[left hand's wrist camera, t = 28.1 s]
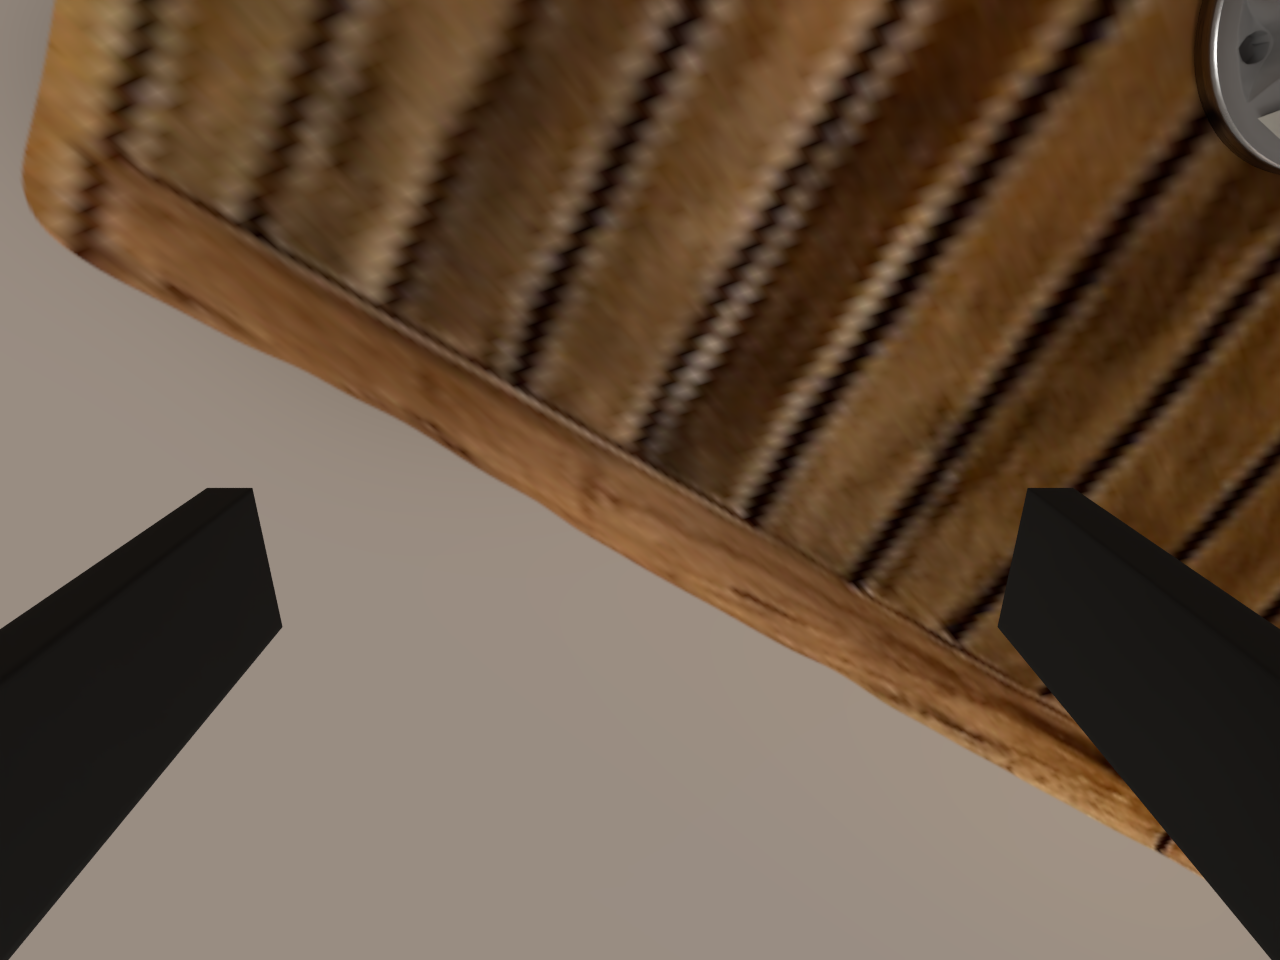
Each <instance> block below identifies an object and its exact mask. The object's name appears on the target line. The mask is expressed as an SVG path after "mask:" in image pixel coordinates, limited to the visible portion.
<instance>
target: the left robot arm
mask: <svg viewBox="0 0 1280 960" xmlns="http://www.w3.org/2000/svg"><path fill="white" fill-rule="evenodd" d="M1195 74H1196V82H1197V88H1198V93H1199V97H1200V100H1201V103H1202V107H1203V109H1204V112H1205V114H1206V116H1207V119H1208V121H1209V123H1210V124H1211V126H1212V128H1213V129H1214V131H1215V133H1216V134H1217V135H1218V137H1219V138H1220V139H1221V140H1222V142H1223V143H1224V144H1225V145H1226V146H1227V147H1228V148H1229V149H1230V150H1231V151H1232V152H1233V153H1234V154H1236V155H1237V156H1238V157H1240V158H1241V159H1242V160H1244V161H1246V162H1248V163H1249V164H1251V165H1253V166H1255V167H1257V168H1260V169H1262V170H1265V171H1268V172H1272V173H1275V174H1279V175H1280V0H1203V2H1202V6H1201V9H1200V13H1199V19H1198V24H1197V30H1196V40H1195ZM281 628H282V623H281V618H280V614H279V609H278V604H277V600H276V595H275V590H274V586H273V581H272V577H271V572H270V567H269V563H268V558H267V554H266V549H265V544H264V540H263V535H262V530H261V526H260V521H259V517H258V512H257V507H256V503H255V498H254V494H253V489H252V488H206V489H205V490H204V491H202V492H201V493H199V494H198V495H196V496H195V497H193V498H192V499H190V500H189V501H187V502H186V503H184V504H183V505H182V506H180V507H179V508H177V509H176V510H174V511H173V512H171V513H170V514H168V515H167V516H165V517H164V518H162V519H161V520H160V521H158V522H157V523H155V524H154V525H152V526H151V527H149V528H148V529H146V530H145V531H143V532H142V533H141V534H139V535H138V536H136V537H135V538H133V539H132V540H130V541H129V542H127V543H126V544H124V545H123V546H121V547H120V548H119V549H117V550H116V551H114V552H113V553H111V554H110V555H108V556H107V557H105V558H104V559H102V560H101V561H99V562H98V563H97V564H95V565H94V566H92V567H91V568H89V569H88V570H86V571H85V572H83V573H82V574H80V575H79V576H78V577H76V578H75V579H73V580H72V581H70V582H69V583H67V584H66V585H64V586H63V587H61V588H60V589H58V590H57V591H56V592H54V593H53V594H51V595H50V596H48V597H47V598H45V599H44V600H42V601H41V602H39V603H38V604H37V605H35V606H34V607H32V608H31V609H29V610H28V611H26V612H25V613H23V614H22V615H20V616H19V617H18V618H16V619H15V620H13V621H12V622H10V623H9V624H7V625H6V626H4V627H3V628H1V629H0V960H9V958H10V957H11V956H12V955H13V954H14V952H15V951H16V950H17V949H18V948H19V946H20V945H21V944H22V943H23V941H24V940H25V939H26V938H27V937H28V935H29V934H30V933H31V932H32V931H33V929H34V928H35V927H36V926H37V924H38V923H39V922H40V921H41V920H42V918H43V917H44V916H45V915H46V914H47V912H48V911H49V910H50V909H51V907H52V906H53V905H54V904H55V903H56V901H57V900H58V899H59V898H60V897H61V895H62V894H63V893H64V892H65V890H66V889H67V888H68V887H69V886H70V884H71V883H72V882H73V881H74V880H75V878H76V877H77V876H78V875H79V873H80V872H81V871H82V870H83V869H84V867H85V866H86V865H87V864H88V862H89V861H90V860H91V859H92V858H93V856H94V855H95V854H96V853H97V852H98V850H99V849H100V848H101V847H102V845H103V844H104V843H105V842H106V841H107V839H108V838H109V837H110V836H111V835H112V833H113V832H114V831H115V830H116V828H117V827H118V826H119V825H120V824H121V822H122V821H123V820H124V819H125V817H126V816H127V815H128V814H129V813H130V811H131V810H132V809H133V808H134V807H135V805H136V804H137V803H138V802H139V801H140V799H141V798H142V797H143V796H144V794H145V793H146V792H147V791H148V790H149V788H150V787H151V786H152V785H153V784H154V782H155V781H156V780H157V779H158V777H159V776H160V775H161V774H162V772H163V771H164V770H165V769H166V768H167V767H168V765H169V764H170V763H171V762H172V760H173V759H174V758H175V757H176V756H177V754H178V753H179V752H180V751H181V749H182V748H183V747H184V746H185V745H186V743H187V742H188V741H189V740H190V739H191V737H192V736H193V735H194V734H195V732H196V731H197V730H198V729H199V728H200V726H201V725H202V724H203V723H204V722H205V720H206V719H207V718H208V717H209V715H210V714H211V713H212V712H213V711H214V709H215V708H216V707H217V706H218V705H219V703H220V702H221V701H222V700H223V698H224V697H225V696H226V695H227V694H228V692H229V691H230V690H231V689H232V687H233V686H234V685H235V684H236V683H237V681H238V680H239V679H240V678H241V677H242V675H243V674H244V673H245V672H246V671H247V669H248V668H249V667H250V666H251V664H252V663H253V662H254V661H255V660H256V658H257V657H258V656H259V655H260V654H261V652H262V651H263V650H264V649H265V647H266V646H267V645H268V644H269V643H270V641H271V640H272V639H273V638H274V636H275V635H276V634H277V633H278V632H279V630H280V629H281ZM998 628H999V629H1000V630H1001V632H1002V633H1003V634H1004V635H1005V637H1006V638H1007V639H1008V640H1009V641H1010V643H1011V644H1012V645H1013V646H1014V647H1015V649H1016V650H1017V651H1018V652H1019V654H1020V655H1021V656H1022V657H1023V658H1024V660H1025V661H1026V662H1027V663H1028V664H1029V666H1030V667H1031V668H1032V669H1033V671H1034V672H1035V673H1036V674H1037V675H1038V677H1039V678H1040V679H1041V680H1042V681H1043V683H1044V684H1045V685H1046V686H1047V688H1048V689H1049V690H1050V691H1051V692H1052V694H1053V695H1054V696H1055V697H1056V698H1057V700H1058V701H1059V702H1060V703H1061V705H1062V706H1063V707H1064V708H1065V709H1066V711H1067V712H1068V713H1069V714H1070V715H1071V717H1072V718H1073V719H1074V720H1075V722H1076V723H1077V724H1078V725H1079V726H1080V728H1081V729H1082V730H1083V731H1084V732H1085V734H1086V735H1087V736H1088V737H1089V739H1090V740H1091V741H1092V742H1093V743H1094V745H1095V746H1096V747H1097V748H1098V749H1099V751H1100V752H1101V753H1102V754H1103V756H1104V757H1105V758H1106V759H1107V760H1108V762H1109V763H1110V764H1111V765H1112V767H1113V768H1114V769H1115V770H1116V771H1117V773H1118V774H1119V775H1120V776H1121V777H1122V779H1123V780H1124V781H1125V782H1126V784H1127V785H1128V786H1129V787H1130V788H1131V790H1132V791H1133V792H1134V793H1135V794H1136V796H1137V797H1138V798H1139V799H1140V801H1141V802H1142V803H1143V804H1144V805H1145V807H1146V808H1147V809H1148V810H1149V811H1150V813H1151V814H1152V815H1153V816H1154V818H1155V819H1156V820H1157V821H1158V822H1159V824H1160V825H1161V826H1162V827H1163V828H1164V830H1165V831H1166V832H1167V833H1168V835H1169V836H1170V837H1171V838H1172V839H1173V841H1174V842H1175V843H1176V844H1177V845H1178V847H1179V848H1180V849H1181V850H1182V852H1183V853H1184V854H1185V855H1186V856H1187V858H1188V859H1189V860H1190V861H1191V862H1192V864H1193V865H1194V866H1195V867H1196V869H1197V870H1198V871H1199V872H1200V873H1201V875H1202V876H1203V877H1204V878H1205V880H1206V881H1207V882H1208V883H1209V884H1210V886H1211V887H1212V888H1213V889H1214V890H1215V892H1216V893H1217V894H1218V895H1219V896H1220V898H1221V899H1222V900H1223V901H1224V903H1225V904H1226V905H1227V906H1228V907H1229V909H1230V910H1231V911H1232V912H1233V914H1234V915H1235V916H1236V917H1237V918H1238V920H1239V921H1240V922H1241V923H1242V924H1243V926H1244V927H1245V928H1246V929H1247V930H1248V932H1249V933H1250V934H1251V935H1252V937H1253V938H1254V939H1255V940H1256V941H1257V943H1258V944H1259V945H1260V946H1261V948H1262V949H1263V950H1264V951H1265V952H1266V954H1267V955H1268V956H1269V957H1270V958H1271V960H1280V629H1279V628H1277V627H1276V626H1274V625H1273V624H1271V623H1270V622H1268V621H1267V620H1265V619H1264V618H1263V617H1261V616H1260V615H1258V614H1257V613H1255V612H1254V611H1252V610H1251V609H1249V608H1248V607H1246V606H1245V605H1243V604H1242V603H1241V602H1239V601H1238V600H1236V599H1235V598H1233V597H1232V596H1230V595H1229V594H1227V593H1226V592H1224V591H1223V590H1222V589H1220V588H1219V587H1217V586H1216V585H1214V584H1213V583H1211V582H1210V581H1208V580H1207V579H1205V578H1204V577H1202V576H1201V575H1200V574H1198V573H1197V572H1195V571H1194V570H1192V569H1191V568H1189V567H1188V566H1186V565H1185V564H1183V563H1182V562H1181V561H1179V560H1178V559H1176V558H1175V557H1173V556H1172V555H1170V554H1169V553H1167V552H1166V551H1164V550H1163V549H1161V548H1160V547H1159V546H1157V545H1156V544H1154V543H1153V542H1151V541H1150V540H1148V539H1147V538H1145V537H1144V536H1142V535H1141V534H1140V533H1138V532H1137V531H1135V530H1134V529H1132V528H1131V527H1129V526H1128V525H1126V524H1125V523H1123V522H1122V521H1120V520H1119V519H1118V518H1116V517H1115V516H1113V515H1112V514H1110V513H1109V512H1107V511H1106V510H1104V509H1103V508H1101V507H1100V506H1099V505H1097V504H1096V503H1094V502H1093V501H1091V500H1090V499H1088V498H1087V497H1085V496H1084V495H1082V494H1081V493H1079V492H1078V491H1077V490H1075V489H1074V488H1028V489H1027V494H1026V498H1025V503H1024V507H1023V512H1022V517H1021V521H1020V526H1019V530H1018V535H1017V540H1016V544H1015V549H1014V554H1013V558H1012V563H1011V567H1010V572H1009V577H1008V581H1007V586H1006V590H1005V595H1004V600H1003V604H1002V609H1001V614H1000V618H999V623H998Z"/></svg>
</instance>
